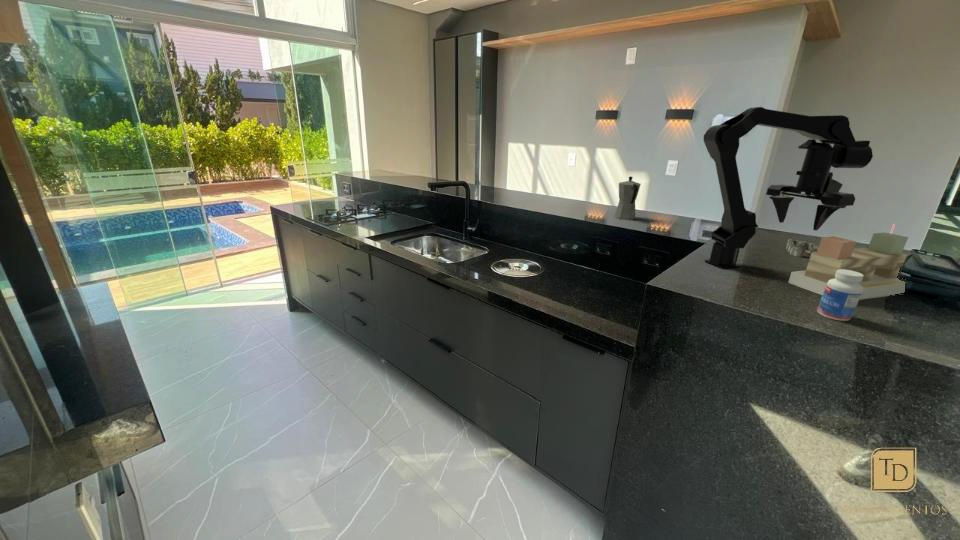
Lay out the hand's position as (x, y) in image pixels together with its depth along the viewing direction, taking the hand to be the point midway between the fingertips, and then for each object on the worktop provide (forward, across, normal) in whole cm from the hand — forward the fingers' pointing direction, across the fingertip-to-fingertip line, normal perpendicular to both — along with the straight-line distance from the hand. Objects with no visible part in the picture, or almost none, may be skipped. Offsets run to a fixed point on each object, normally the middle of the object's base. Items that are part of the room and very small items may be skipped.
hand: (797, 226), depth 103 cm
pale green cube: (+3, -15, -8) cm, 18 cm away
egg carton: (+12, +9, -19) cm, 24 cm away
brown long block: (+9, -15, 0) cm, 18 cm away
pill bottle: (+12, -26, +20) cm, 35 cm away
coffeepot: (+12, +67, +6) cm, 68 cm away
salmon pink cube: (+3, -15, +8) cm, 18 cm away
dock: (+12, -16, 0) cm, 20 cm away
